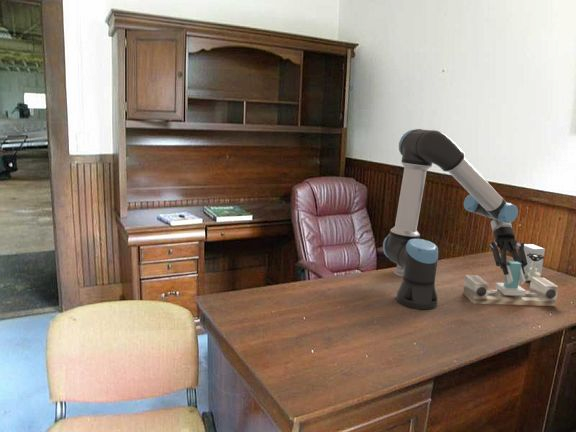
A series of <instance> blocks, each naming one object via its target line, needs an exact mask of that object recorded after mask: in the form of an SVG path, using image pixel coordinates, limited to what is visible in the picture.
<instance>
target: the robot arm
mask: <svg viewBox="0 0 576 432" xmlns="http://www.w3.org/2000/svg"><path fill="white" fill-rule="evenodd" d="M398 151H399V152H400V155H401V160H400V161H401V164H402V166H403V167H404V168H403V173H402V181H401V186H400V192H399V193H400V194H399V199H398V204H397V210H396V217H395V222H394V223H395V225H394V226H393V227H392V228H391V229H390V231H389V233H388V234H387V236H386V237H384V239H383V243H382V250H383V253H384V255H385V256H386V258H388V259H389V261H390V262H392V263H394V264H396V265H397V264H398V265H399V266H401V267H402V268H404V275H403V277H402V282H401V284H400V286H399V288H398V290H397V292H396V299H395V300H396V301H397V302H398V303H399V304H400V305H402V306H404V307H406V308H407V307H408V308H411V309H416V310H432V309H435V308H436V307H438V300H439V299H438V294H437V290H436V285H435V283H436V277H437V267H438V259H439V248H438V246H437V245H436V244H435V243H434V242H432V241H430V240H426V239H422V238H420V237H421V234H420V233H419V231H418V225H419V218H420V212H421V205H422V200H423V196H424V188H425V184H426V177H427V172H428V170H429V169H430V168H432V167H433V164H434V165H435V166H437V167H439V168H440V169H441V170H442V171H443V172H448V173H449V175H450V176H452V178H454V179H455V180H456V181H457V182H458V183H459V184H460V186H462V187H463V189H464V190H465V191H467V193H469V194H468V195H467V196H466V197H465V198H464V201H463V207H464V210H465V211H467V212H470V213H472V214H473V213H474V214H476V215H480V216H483V217H486V218H489V223H490V226H491V230H492V233H493V237H494V241H492V242H491V243H489V245H488V246H489V248H490V249H491V252H492V255H493V258H494V262H495V265H496V267H500V270H502V274H503V275H504V276H505V275H506V278H507V281H508V284H510V283H511V282H513V278H512V274H511V271H510V267H509V266H507V261H508V258H507V252H509V253H508V254H510V255H511V257H512V259H513V261H518V262H519V263H521V270H520V276H519V284H520V285H523V284H524V283H525V282H526V281H525V278H524V274H525V271H524V268H523V267H525V266H526V265H527V264H528V263H527V259H526V256H525V252H524V244H525V243H523V242H520V243H519V242H518V241H517V240H516V239H515V238H516V237H515V232H514V229H513V225H512V223H513V222H515V220H516V219H517V218H518V215H519V209H518V207H517V206H516V205H515V204H512V203H511V202H507V201H506V200H505V199H504V197H503V196H501V195H500V194H499V192H498V191H496V190H495V188H494V187H493V186H492V185H491V184H490V183H489V181H487V180H486V179H485V177H484V176H482V174H481V173H480V172H479V171H478V170H477V169H476V168H475V167H474V166H473V165H472V164H471V162H470V161H469V160H468V159H467V158H466V156H465V152H464V151H463V150H462V148H460V147H459V145H458V144H457V143H456V142H454V141H453V140H452V139H451V138H450V137H449V136H448V135H447V134H445V133H444V132H441V131H439V130H436V129H435V130H434V129H433V130H431V129H421V128H415V129H409V130H408V131H406V132H405V133H404V134H403V135H402V136H401V137H400V139H399V141H398ZM498 248H499V249H498Z"/></svg>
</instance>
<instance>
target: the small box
mask: <svg viewBox="0 0 576 432" xmlns="http://www.w3.org/2000/svg"><path fill="white" fill-rule="evenodd" d="M524 252H525V256H526V259H527V263H528V264H527V265H526V266H525V267H523V268H524V271H525V273H529V272H530V271H529V268H531V267H532V263H533V261H532V260H531V258H529V256H527V254H529V253H532V254H534V253H535V254H537V255H542V256H544V257H545V253H546V248H543V247H541V246H538V245H536V244H533V243H532V244H531V243H528V244H527V243H524ZM538 259H539V258H538ZM544 260H545V258H544V259H542V260H539V261H536V266H535V268H536V269H537V272H539V273H540V275H541V276H542V271H543V267H544V266H543V265H544Z"/></svg>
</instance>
